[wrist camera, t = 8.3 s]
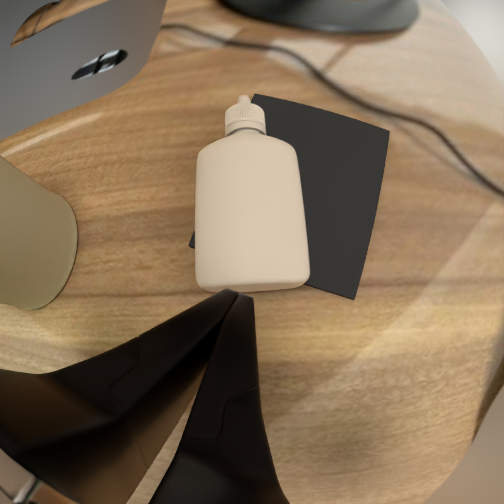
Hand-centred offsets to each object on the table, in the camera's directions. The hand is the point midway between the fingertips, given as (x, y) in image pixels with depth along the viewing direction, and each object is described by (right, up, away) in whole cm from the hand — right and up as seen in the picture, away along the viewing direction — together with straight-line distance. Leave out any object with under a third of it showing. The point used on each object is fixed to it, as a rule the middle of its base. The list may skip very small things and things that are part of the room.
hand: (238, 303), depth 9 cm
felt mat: (+3, +6, +10) cm, 12 cm away
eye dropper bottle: (0, 0, +6) cm, 6 cm away
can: (-16, +2, +10) cm, 19 cm away
